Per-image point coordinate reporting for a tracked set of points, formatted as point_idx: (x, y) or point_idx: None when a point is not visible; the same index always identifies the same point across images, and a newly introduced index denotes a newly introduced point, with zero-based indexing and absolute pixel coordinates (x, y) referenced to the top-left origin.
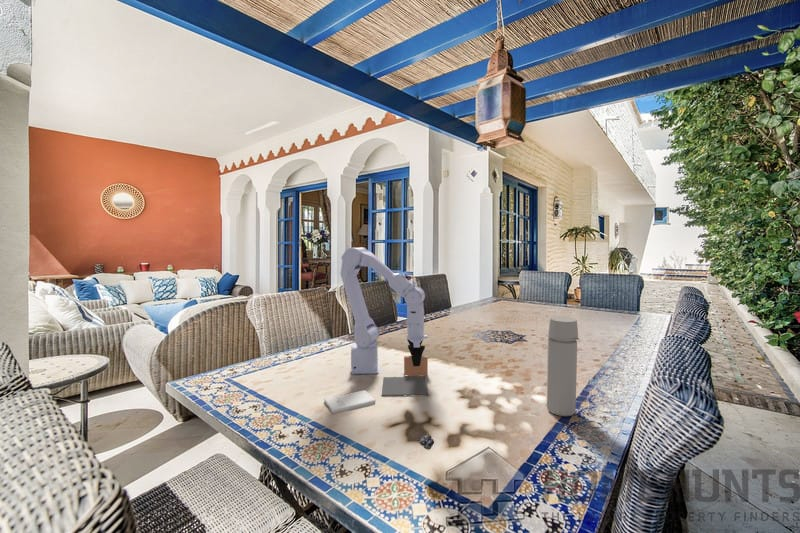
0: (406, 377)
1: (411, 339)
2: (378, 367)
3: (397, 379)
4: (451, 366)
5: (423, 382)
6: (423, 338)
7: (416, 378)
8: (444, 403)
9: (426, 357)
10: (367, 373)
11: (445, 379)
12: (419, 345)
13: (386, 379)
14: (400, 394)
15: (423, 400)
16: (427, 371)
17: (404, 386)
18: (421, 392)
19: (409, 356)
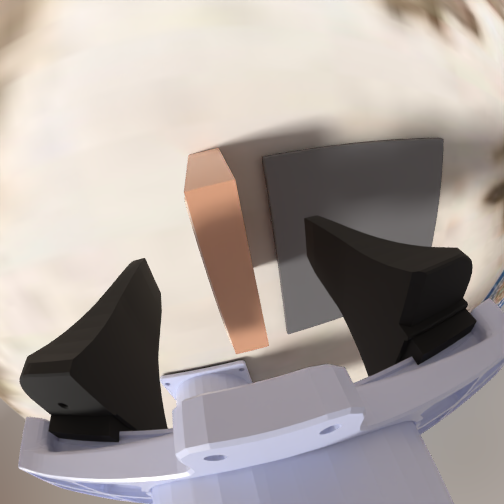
0: (284, 254)
1: (433, 425)
2: (190, 375)
3: (311, 283)
4: (39, 50)
5: (346, 160)
6: (399, 391)
7: (295, 203)
8: (472, 94)
9: (236, 188)
10: (251, 380)
11: (268, 39)
12: (500, 311)
13: (311, 318)
14: (432, 235)
15: (460, 157)
16: (220, 152)
17: (382, 238)
18: (432, 165)
19: (244, 325)
